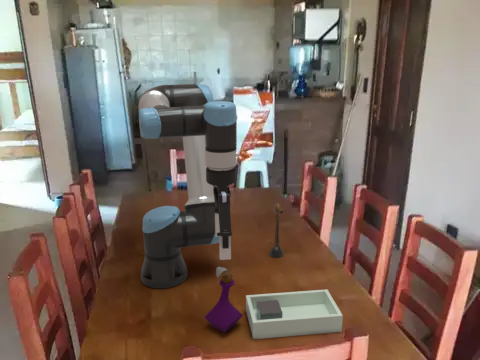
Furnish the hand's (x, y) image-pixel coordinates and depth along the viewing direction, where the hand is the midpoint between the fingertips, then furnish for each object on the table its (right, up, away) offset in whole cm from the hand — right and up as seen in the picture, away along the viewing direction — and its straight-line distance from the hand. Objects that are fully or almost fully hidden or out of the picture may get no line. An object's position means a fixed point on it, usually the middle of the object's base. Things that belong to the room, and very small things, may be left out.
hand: (222, 246), depth 112 cm
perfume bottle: (0, -23, +7) cm, 24 cm away
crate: (+19, -22, +10) cm, 31 cm away
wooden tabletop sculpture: (+18, -11, +47) cm, 52 cm away
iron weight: (+12, -21, +9) cm, 26 cm away
